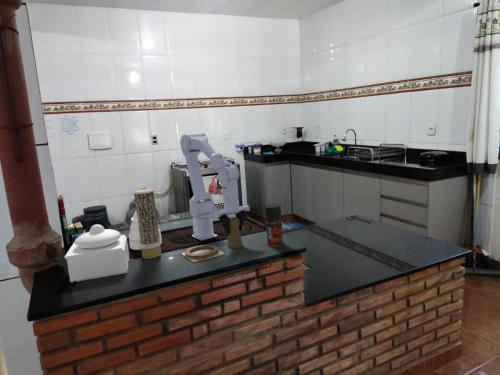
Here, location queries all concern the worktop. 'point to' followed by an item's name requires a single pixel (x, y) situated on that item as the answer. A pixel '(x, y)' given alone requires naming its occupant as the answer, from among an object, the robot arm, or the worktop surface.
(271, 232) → the deodorant
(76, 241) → the butter dish
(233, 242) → the khaki cylinder
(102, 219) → the storage jar
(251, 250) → the worktop surface
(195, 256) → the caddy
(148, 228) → the wooden log
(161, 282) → the worktop surface
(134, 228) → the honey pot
